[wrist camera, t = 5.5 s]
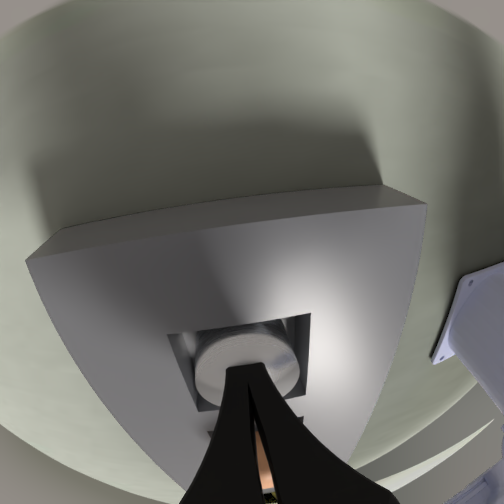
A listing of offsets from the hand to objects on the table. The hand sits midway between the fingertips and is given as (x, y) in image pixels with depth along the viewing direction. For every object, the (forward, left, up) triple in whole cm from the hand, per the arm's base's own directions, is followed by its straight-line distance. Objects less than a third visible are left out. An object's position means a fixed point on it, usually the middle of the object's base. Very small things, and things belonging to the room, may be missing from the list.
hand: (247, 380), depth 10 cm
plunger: (0, 0, -2) cm, 2 cm away
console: (0, +7, -3) cm, 8 cm away
